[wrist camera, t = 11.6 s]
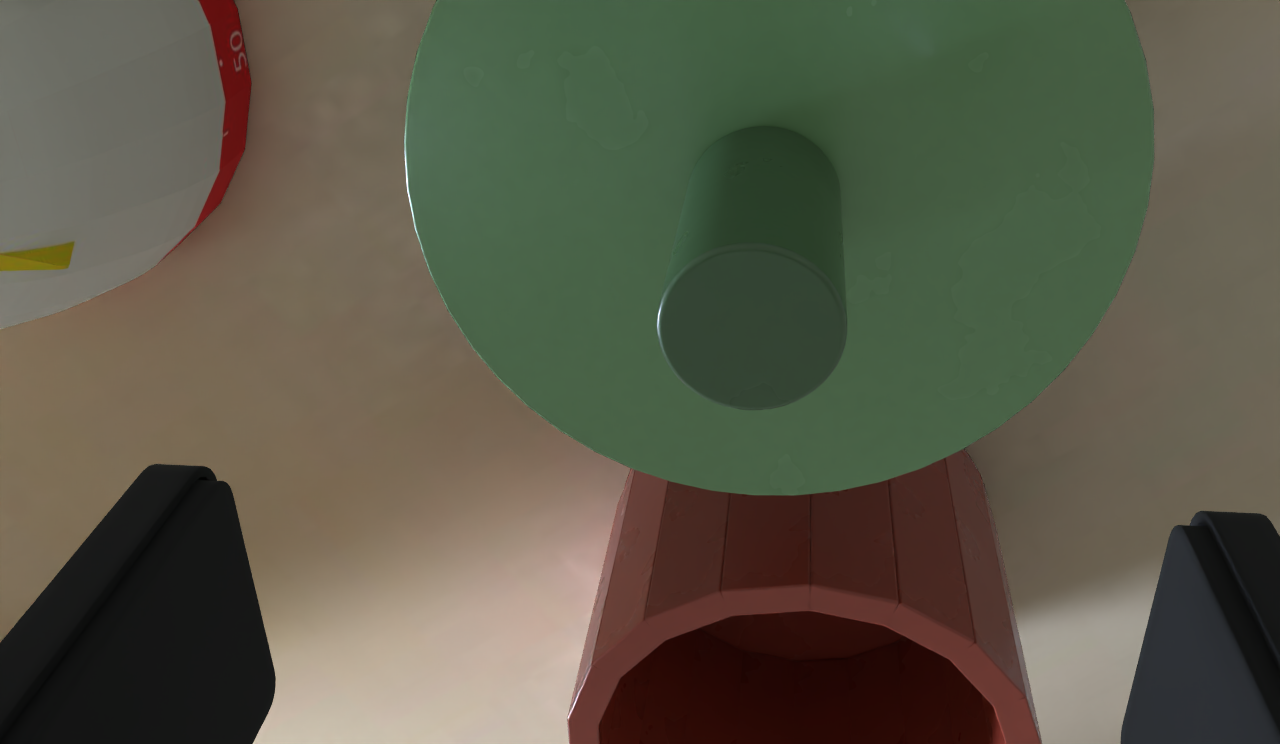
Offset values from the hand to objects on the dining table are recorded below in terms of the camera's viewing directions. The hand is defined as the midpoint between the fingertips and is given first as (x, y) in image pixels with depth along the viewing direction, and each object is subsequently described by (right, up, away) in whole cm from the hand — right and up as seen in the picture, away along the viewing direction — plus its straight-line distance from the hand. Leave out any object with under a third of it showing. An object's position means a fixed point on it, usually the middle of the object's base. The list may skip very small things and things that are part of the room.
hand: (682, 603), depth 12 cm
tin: (+5, -3, +26) cm, 26 cm away
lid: (+2, +6, +9) cm, 11 cm away
